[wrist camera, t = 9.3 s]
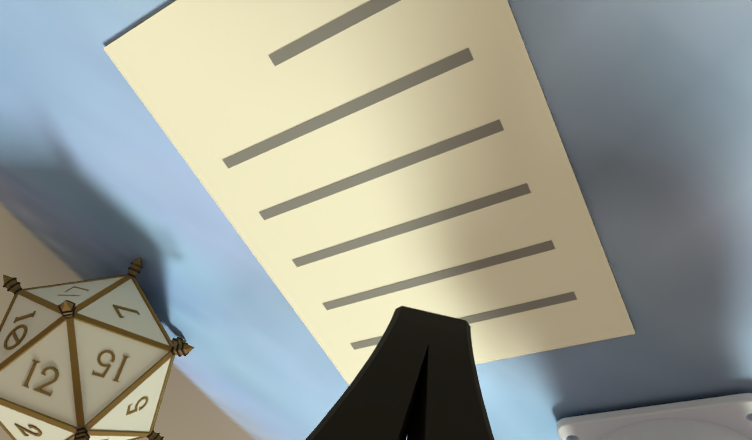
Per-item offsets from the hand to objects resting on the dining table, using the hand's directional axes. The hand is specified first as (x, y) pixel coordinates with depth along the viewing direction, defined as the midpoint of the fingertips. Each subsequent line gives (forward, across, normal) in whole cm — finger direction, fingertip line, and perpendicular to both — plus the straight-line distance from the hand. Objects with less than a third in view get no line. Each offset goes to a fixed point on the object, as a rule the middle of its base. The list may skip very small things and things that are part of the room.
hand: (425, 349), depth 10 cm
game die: (+10, +14, +12) cm, 20 cm away
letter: (+9, +2, +3) cm, 10 cm away
